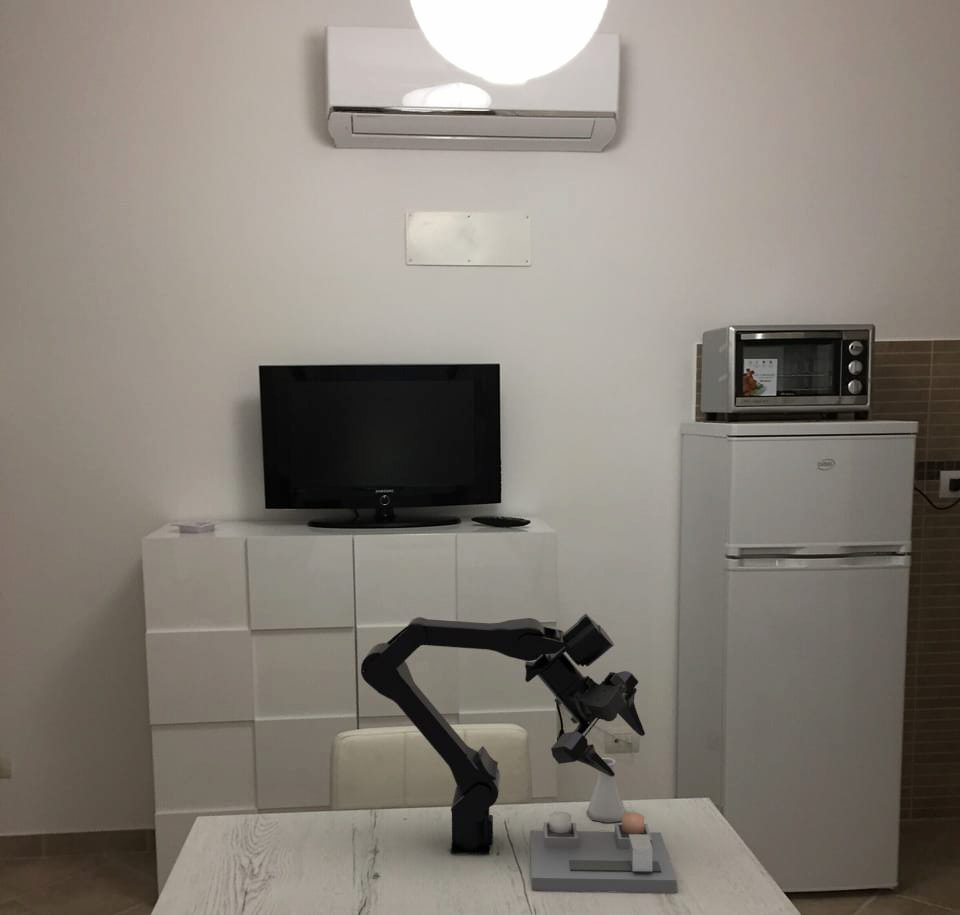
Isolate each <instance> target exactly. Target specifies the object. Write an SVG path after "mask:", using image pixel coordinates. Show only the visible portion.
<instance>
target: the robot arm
mask: <svg viewBox="0 0 960 915" xmlns="http://www.w3.org/2000/svg"><path fill="white" fill-rule="evenodd" d="M421 646H430V647H443V648H445V647H446V648H459V649H460V648H461V649H474V650H475V649H476V650H488V651H492V652H497V653H498V654H502V655H504V656H506V657H509V658H513V659H516V660H521V661H525V662H524V663H525V664H524V667H525V675H524V676H525V677H524V680H525V682H526V683H529V682H530V681H532V680H533V679H534V678H535V677H536V676H537V677H538V678H539V679H540V681H541V682H542V683H543V684H544V685H545V686H546V687H547V689H548V690H549V691H550V692H551V694H552V695H554V697H555V699H554V702H555V703H556V705H558V706H560V705H562V707H564V709H565V710H566V711H567V712H568V713H569V714H570V716H571V717H570V720H571V722H572V723H573V724H578V725H577V727H576V728H575V729H574V730H573V731H570V732H565V733H562V734H561V736H560V737H559V738H558V740H556V741H555V743H554V744H553V746H552V747H551V748H550V750H551V756H552V757H553V759H554V760H555V761H556V762H557V763H558V764H559V765H560V764H568V763H574V762H576V761H577V762H580V763H582V764H585V765H587V766H589V767H591V768H593V769H594V770H596V771H598V772H599V771H601V772H603V773H605V774H607V775H609V776H611V777H612V776H614V775H615V774H616V773H615V771H614V772H613V771H612V769H611V768H610V767H609V766H608V765H607V764H606V763H605V761H604V760H603V759H602V758H603V757H601V756H600V755H599V754H598V753H597V752H596V749H595V746H594V744H593V743H592V744H588V739H587V737H586V736H587V735H588V734H589V733H590V732H591V730H592V729H593V728H594V726H595V725H596V724H597V722H598V721H599V720H602V721H605V722H612V721H614V720H615V719H616V718H617V717H618V715H619V716H620V718H622V719H623V721H624V722H626V724H627V725H628V726H629V727H630V728H631V729H632V730H633V731H634V732H635V733H636V734H638V735H639V736H640V737H644V736H645V735H646V732H645V729H644V727H643V725H642V721H641V719H640V716H639V715H638V711H637V708H636V705H635V695H636V693H637V690H638V689H637V688H636V686H637V685H638V684H639V680H638V678H637V677H636V676H635V675H634V674H633V673H632V672H630V671H628V670H623V671H621V672H614V671H613V672H612V671H610V672H608V674H607V675H606V677H604V680H602V681H601V682H600V683H597V682H596V681H594V680H593V678H591V677H590V676H589V675H586V676H584V675H583V674H582V673H581V672H580V670H579V669H578V668H577V666H578V667H580V666H581V667H584V666H586V667H587V668H588V667H589V666H591V665H592V664H593V663H595V662H596V661H597V660H598V659H599V658H601V656H603V655H604V654H606V652H608V651H610V649H611V648H613V647H614V646H615V644H614V642H613V641H612V639H611V638H610V635H608V633H607V631H606V630H604V629H603V627H602V626H601V625H600V624H598V623H597V622H596V621H595V620H593V618H591V616H589V615H588V614H587V613H584V614H583V615H582V616H581V617H579V619H578V620H577V622H575V623H574V624H573V625H572V626H570V627H569V628H568V629H567V630H566V631H565V632H564V630H561V629H556V628H552V627H547V626H544V625H543V624H542V623H541V622H540V621H539V620H538V619H536V618H532V617H526V618H517V619H509V620H505V621H504V620H503V621H499V622H494V623H493V622H492V623H490V622H489V623H488V622H472V621H471V622H470V621H460V620H459V621H457V620H446V619H445V620H443V619H442V620H441V619H430V618H429V619H428V618H425V617H419V616H418V617H415V618H413V619H412V620H411V621H410V622H409V623H408V625H407V626H405V627H404V628H403V629H401V630H400V631H398V632H397V633H396V634H395V635H394V636H393V637H392V638H391V639H389V640H388V641H387V642H380V643H377V644H376V645H374V646H373V647H372V648H371V649H370V650H369V651H368V653H367V654H366V656H365V657H364V659H363V660H362V663H361V665H360V666H361V667H360V674H361V677H362V679H363V681H364V682H365V683H366V684H368V685H369V686H370V687H371V688H372V689H373V690H375V692H377V693H378V694H379V695H381V696H383V697H385V698H387V699H389V700H390V701H393V702H394V703H395V704H396V705H397V706H398V707H399V708H400V710H401V711H402V712H403V713H404V715H405V716H406V717H407V718H408V719H409V720H410V721H411V723H412V724H413V726H415V727H416V729H417V730H418V731H419V732H420V733H421V735H422V736H423V737H424V738H425V740H426V741H427V742H428V743H429V744H430V745H431V746H432V749H434V750H435V751H436V752H437V754H438V755H439V756H440V758H442V759H443V761H444V762H445V763H446V765H447V767H449V769H450V772H451V773H452V774H451V775H452V777H453V779H454V781H455V783H456V787H455V791H454V794H453V799H452V803H451V807H450V812H451V843H450V844H451V845H450V849H449V850H450V854H451V855H490V853H491V847H492V846H493V844H494V815H492V814H490V807H492V806H494V804H495V803H496V802H497V800H498V798H499V790H500V783H501V782H500V781H501V774H500V770H499V768H498V766H499V762H498V761H497V760H495V759H493V758H492V757H491V755H490V754H489V752H488V750H487V749H486V747H484V746H481V747H480V748H479V750H476V749H474V748H471V747H470V746H469V745H468V744H467V743H466V742H465V741H464V739H462V738H461V736H460V735H459V734H458V733H457V731H455V729H454V728H453V727H452V725H450V724H449V722H448V721H447V720H446V719H445V717H444V716H443V714H441V713H440V712H439V711H438V709H437V708H436V707H435V706H434V704H433V703H432V702H431V701H430V700H429V698H428V697H427V696H426V695H425V693H424V692H422V690H421V689H420V688H419V686H418V685H417V684H416V682H415V680H414V678H413V676H412V674H411V671H410V669H409V668H410V667H409V666H408V663H407V662H406V660H407V659H408V658H409V657H411V655H412V654H414V652H415V651H416V650H417V649H418V648H420V647H421ZM565 652H566V654H567V655H568V656H566V654H565ZM568 657H569V658H570V659H571V660H572V661H573V662H572V661H571V660H570V659H569V658H568ZM574 663H575V664H574ZM575 665H576V666H575Z"/></svg>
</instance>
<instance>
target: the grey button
mask: <svg viewBox="0 0 960 915" xmlns="http://www.w3.org/2000/svg"><path fill="white" fill-rule="evenodd" d="M549 822H550V830H551V831H553V832H556V833H566V832H569V831H570V830H571V823H572V815H571V814H570V813H569V812H568V811H562V810H559V811H558V810H556V811H553V812H551V813H550V814H549Z"/></svg>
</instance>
